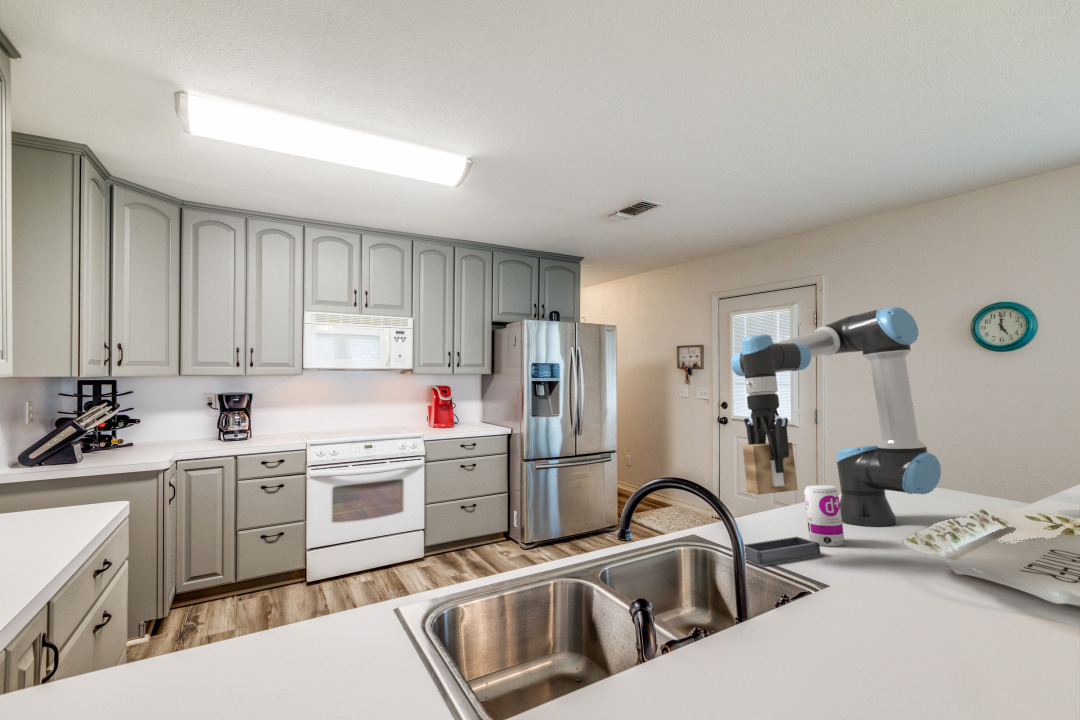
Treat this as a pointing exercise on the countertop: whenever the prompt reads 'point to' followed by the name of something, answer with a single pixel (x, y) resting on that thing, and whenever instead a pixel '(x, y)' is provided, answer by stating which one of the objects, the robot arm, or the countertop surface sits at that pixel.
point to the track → (782, 551)
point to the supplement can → (824, 515)
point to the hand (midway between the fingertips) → (771, 484)
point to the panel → (767, 470)
